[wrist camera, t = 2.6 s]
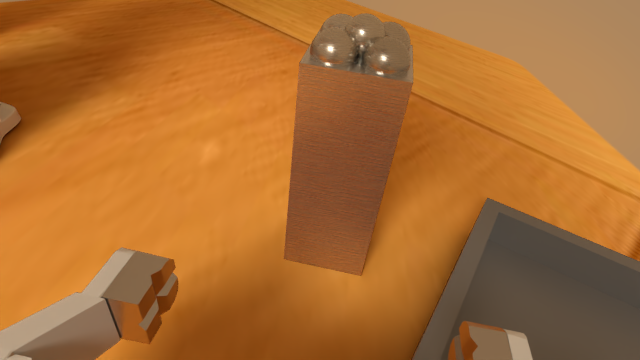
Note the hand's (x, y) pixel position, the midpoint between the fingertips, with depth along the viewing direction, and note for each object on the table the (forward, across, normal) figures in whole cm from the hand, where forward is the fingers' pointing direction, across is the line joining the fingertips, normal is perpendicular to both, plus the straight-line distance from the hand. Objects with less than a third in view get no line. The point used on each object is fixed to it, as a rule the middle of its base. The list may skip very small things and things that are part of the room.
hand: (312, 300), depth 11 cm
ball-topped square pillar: (+12, 0, +10) cm, 16 cm away
